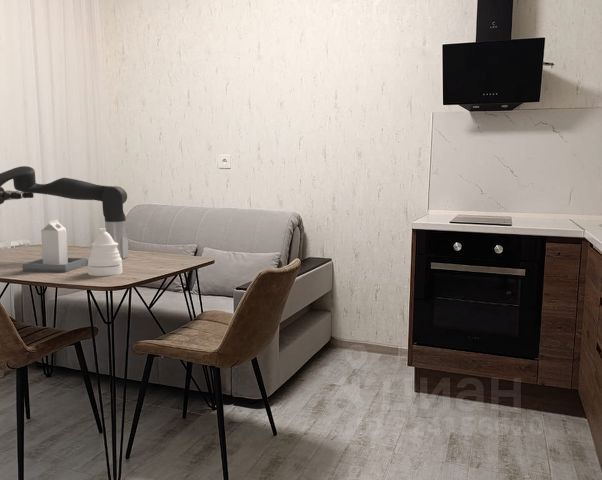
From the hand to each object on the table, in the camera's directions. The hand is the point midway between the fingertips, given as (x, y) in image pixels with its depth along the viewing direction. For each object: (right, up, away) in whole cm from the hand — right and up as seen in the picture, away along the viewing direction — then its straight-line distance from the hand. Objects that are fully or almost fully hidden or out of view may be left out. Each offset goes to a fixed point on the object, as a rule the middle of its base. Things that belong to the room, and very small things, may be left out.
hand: (27, 195), depth 228 cm
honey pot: (+35, -32, -7) cm, 48 cm away
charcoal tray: (+11, -30, +3) cm, 32 cm away
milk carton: (+11, -29, +3) cm, 31 cm away
